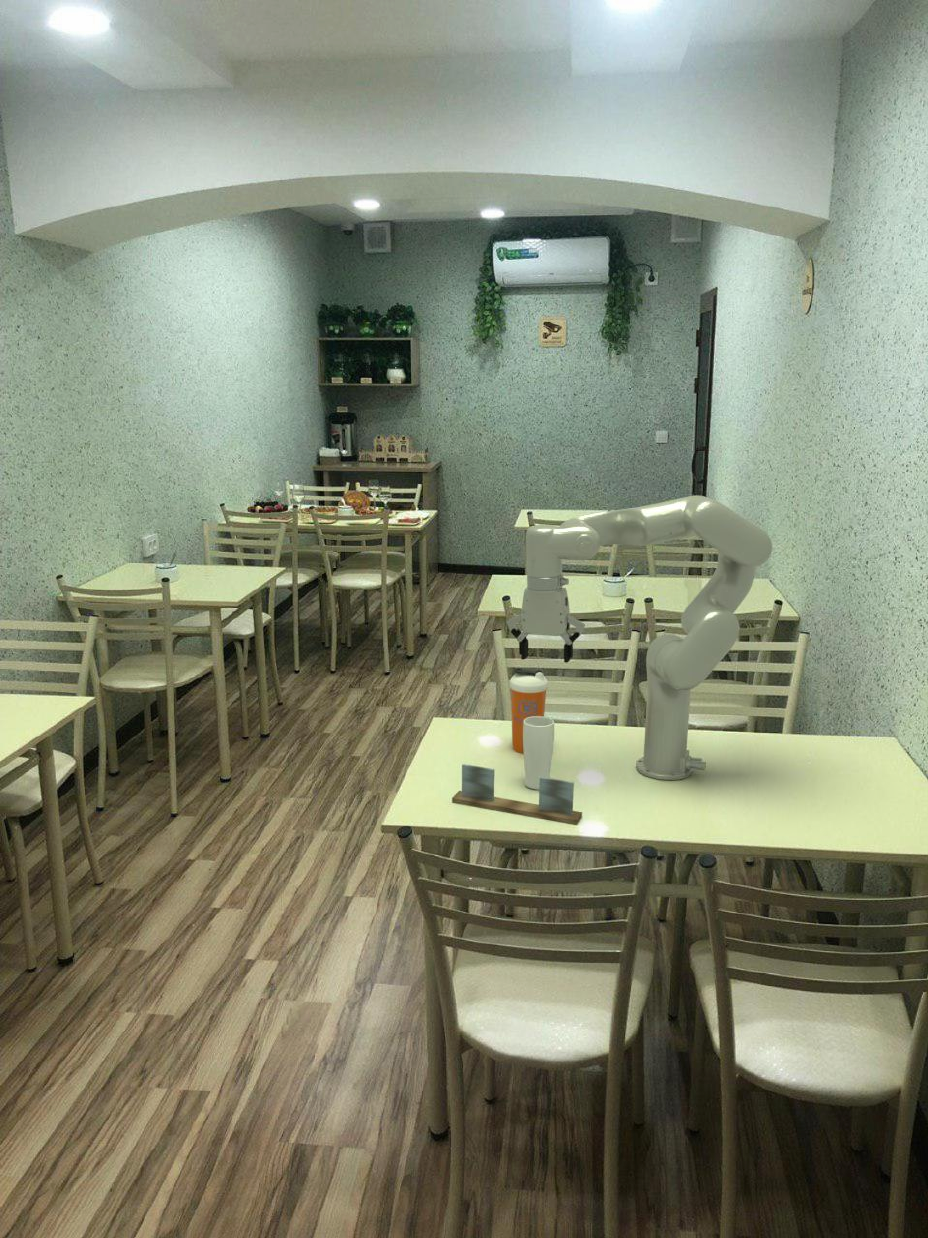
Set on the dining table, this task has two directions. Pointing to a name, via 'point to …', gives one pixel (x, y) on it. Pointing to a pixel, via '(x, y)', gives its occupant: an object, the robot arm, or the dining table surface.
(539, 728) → the drinking glass
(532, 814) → the stand
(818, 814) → the dining table surface
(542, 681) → the shaker bottle
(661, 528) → the robot arm
